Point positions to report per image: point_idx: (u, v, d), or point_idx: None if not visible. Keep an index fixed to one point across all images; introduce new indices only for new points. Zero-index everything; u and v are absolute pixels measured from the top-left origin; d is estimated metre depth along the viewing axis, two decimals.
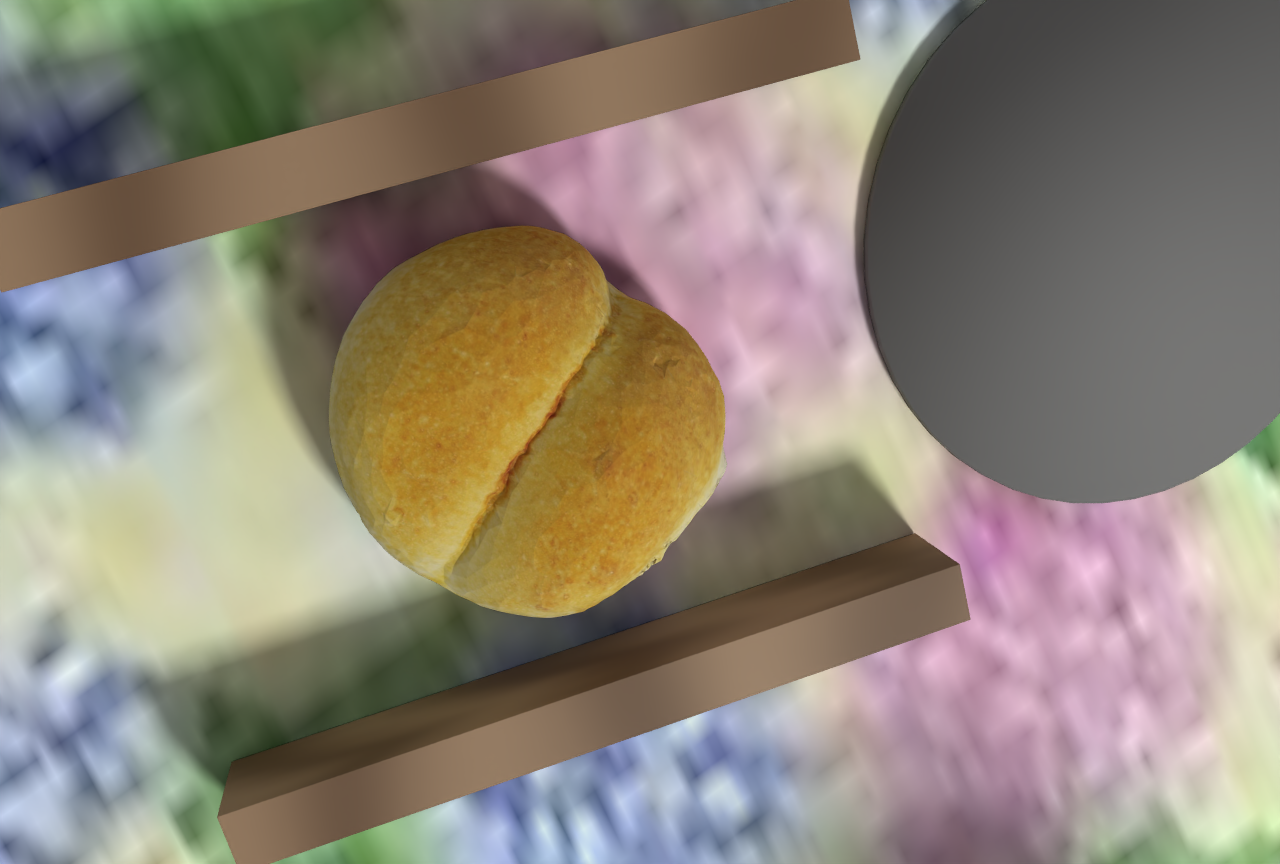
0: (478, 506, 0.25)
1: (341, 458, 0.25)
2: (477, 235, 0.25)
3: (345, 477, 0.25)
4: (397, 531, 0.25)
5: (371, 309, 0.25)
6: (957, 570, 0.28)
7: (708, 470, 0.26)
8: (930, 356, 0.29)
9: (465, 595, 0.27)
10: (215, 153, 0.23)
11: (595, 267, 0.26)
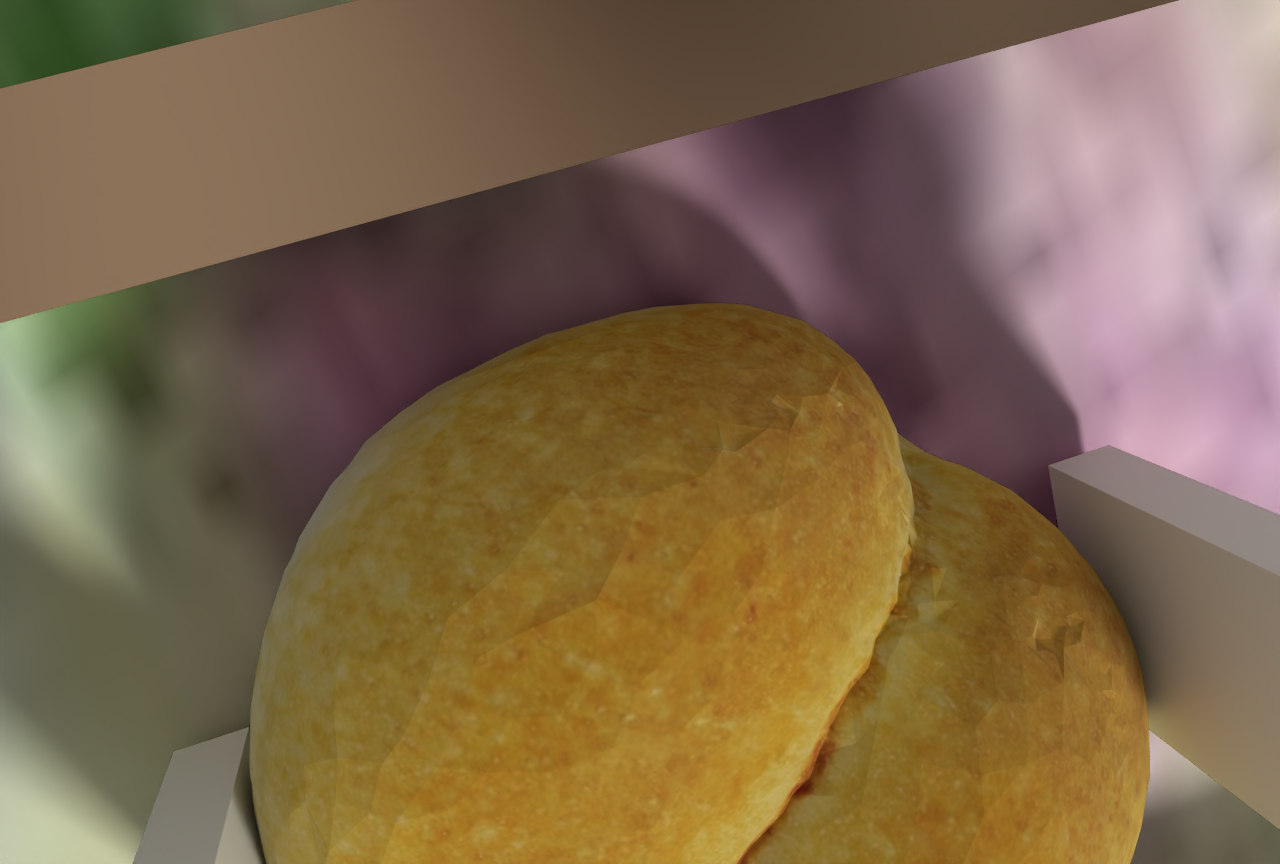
0: None
1: None
2: (610, 333, 0.10)
3: None
4: None
5: (349, 527, 0.10)
6: None
7: None
8: None
9: None
10: None
11: (880, 402, 0.11)
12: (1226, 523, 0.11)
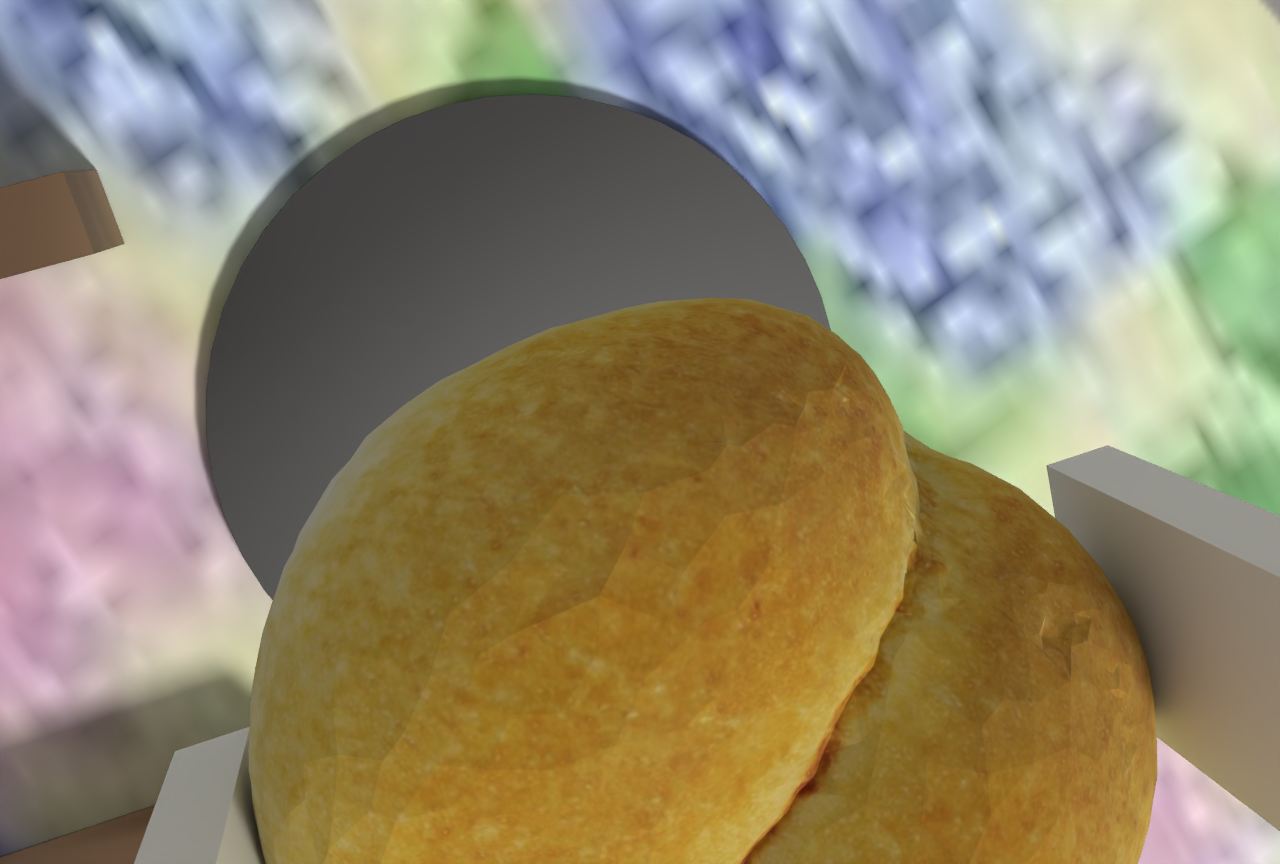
0: None
1: None
2: (613, 327, 0.10)
3: None
4: None
5: (349, 522, 0.10)
6: None
7: None
8: None
9: None
10: None
11: (886, 398, 0.11)
12: (1225, 523, 0.11)
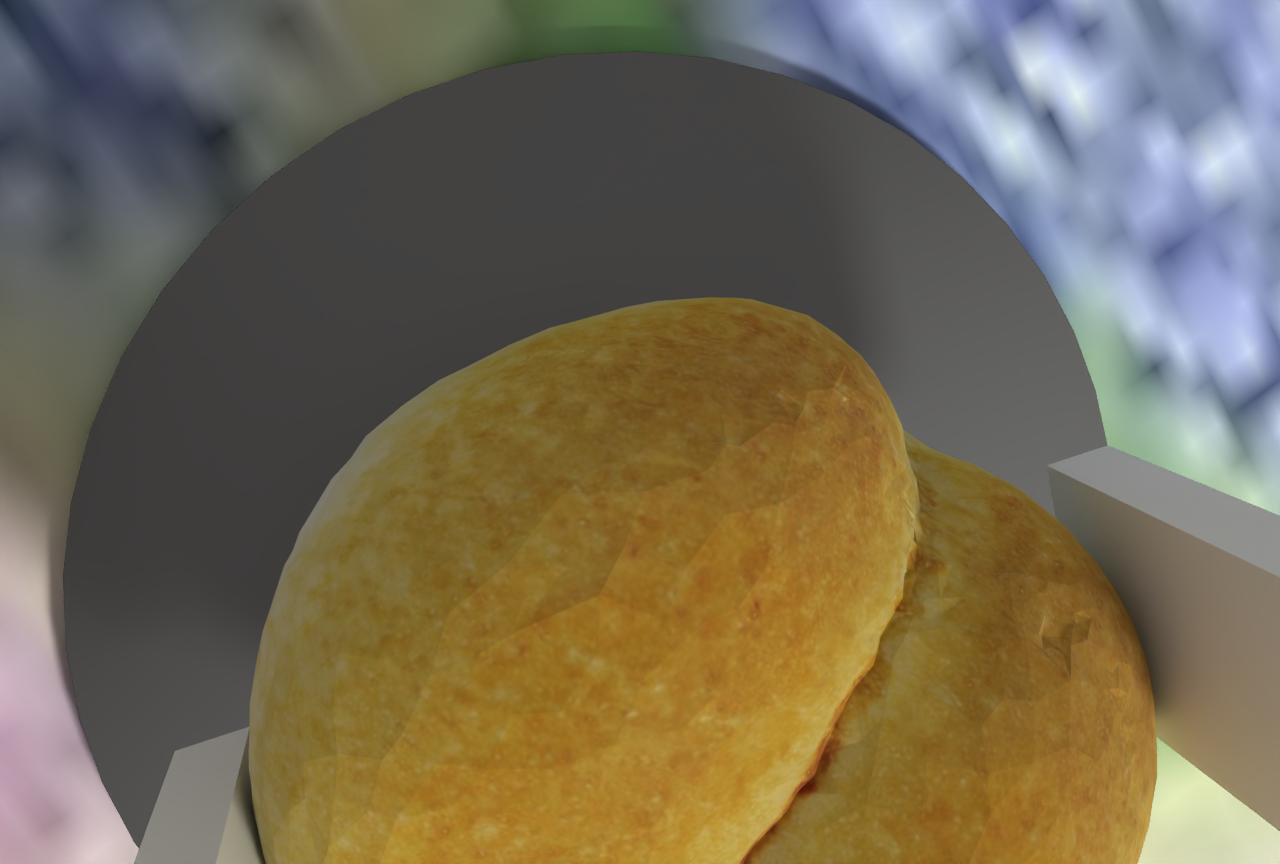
0: None
1: None
2: (613, 326, 0.10)
3: None
4: None
5: (349, 521, 0.10)
6: None
7: None
8: None
9: None
10: None
11: (886, 396, 0.11)
12: (1225, 523, 0.11)
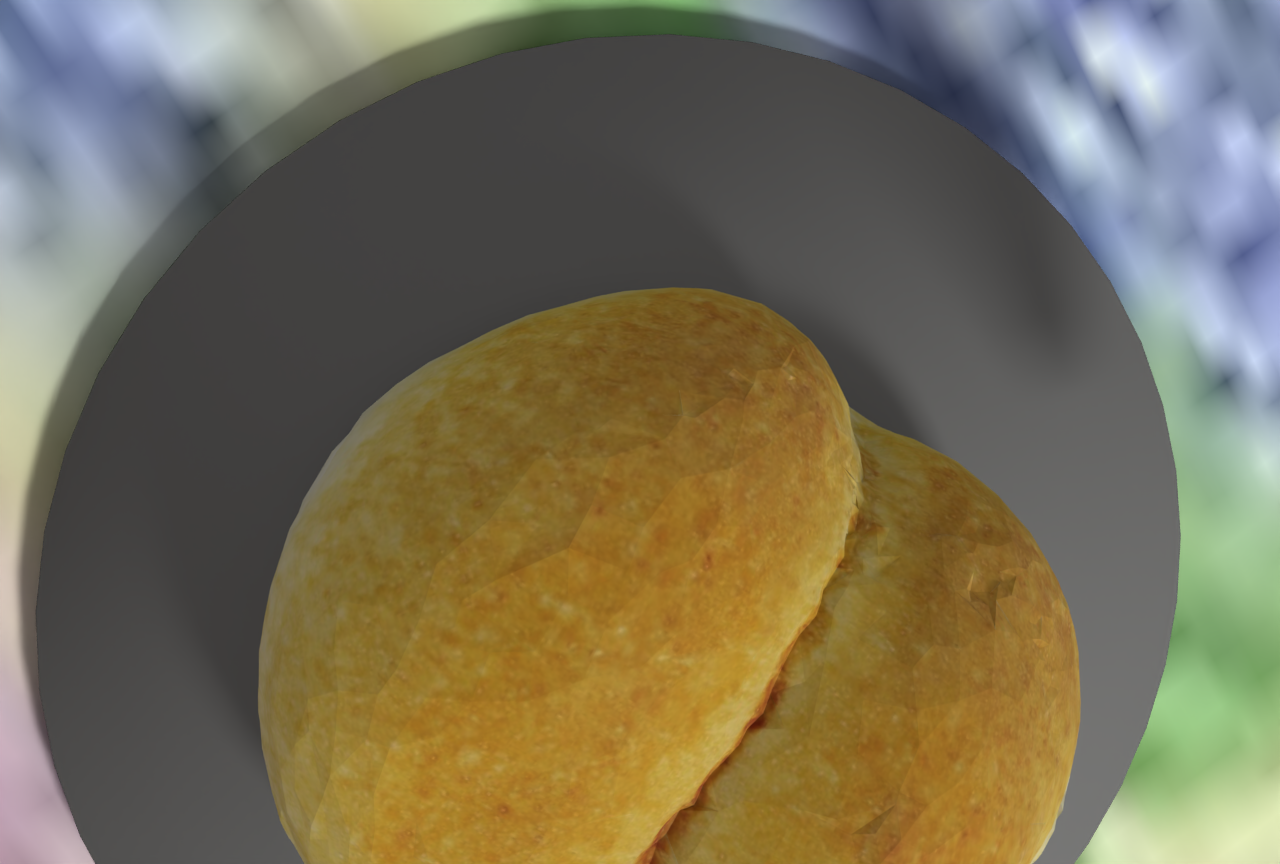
0: None
1: (283, 806, 0.11)
2: (584, 313, 0.11)
3: (293, 839, 0.12)
4: None
5: (348, 486, 0.11)
6: None
7: None
8: None
9: None
10: None
11: (832, 377, 0.12)
12: None
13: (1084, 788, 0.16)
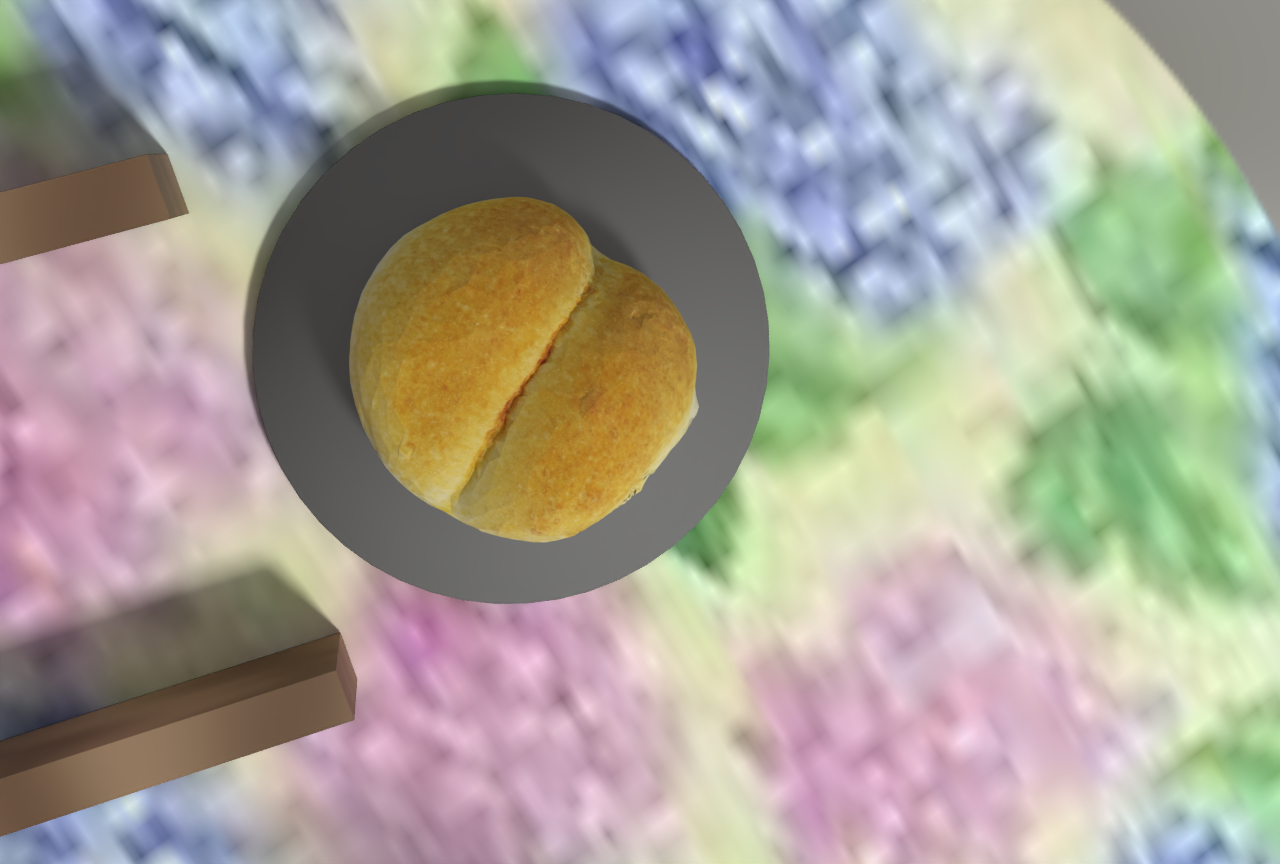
0: (479, 441, 0.29)
1: (360, 400, 0.29)
2: (477, 205, 0.29)
3: (364, 417, 0.29)
4: (410, 463, 0.29)
5: (385, 270, 0.28)
6: (334, 676, 0.30)
7: (681, 411, 0.30)
8: (330, 472, 0.31)
9: (469, 522, 0.31)
10: None
11: (580, 233, 0.30)
12: None
13: (730, 446, 0.34)
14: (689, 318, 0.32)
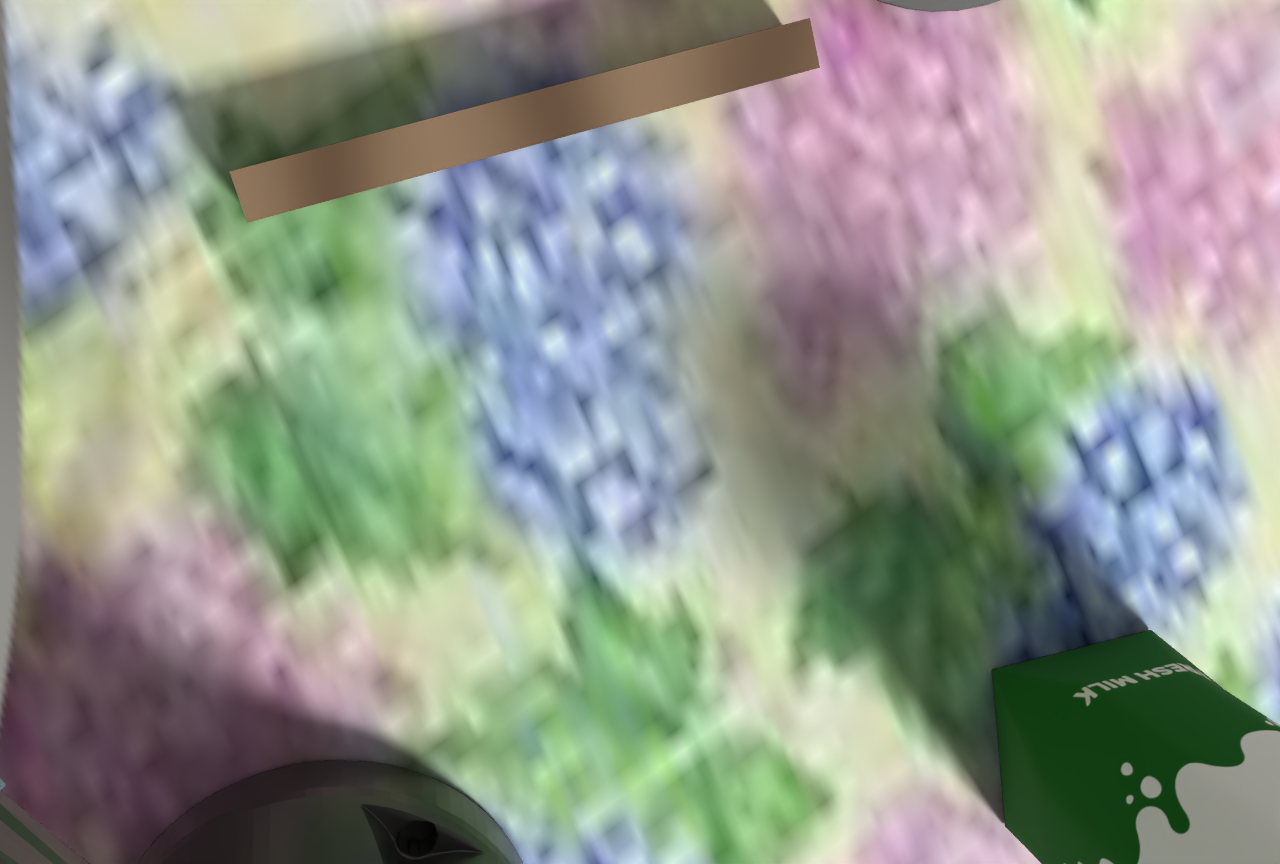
0: None
1: None
2: None
3: None
4: None
5: None
6: (808, 23, 0.36)
7: None
8: None
9: None
10: None
11: None
12: None
13: None
14: None
